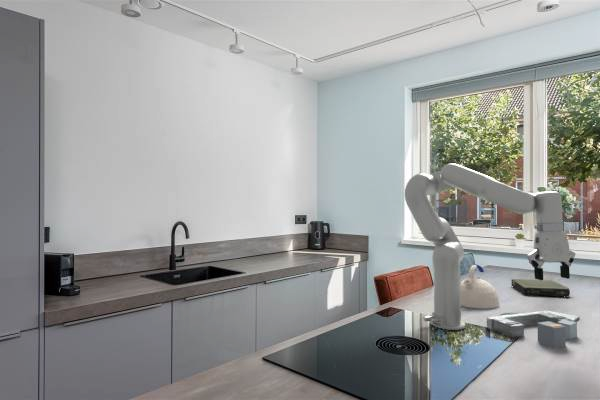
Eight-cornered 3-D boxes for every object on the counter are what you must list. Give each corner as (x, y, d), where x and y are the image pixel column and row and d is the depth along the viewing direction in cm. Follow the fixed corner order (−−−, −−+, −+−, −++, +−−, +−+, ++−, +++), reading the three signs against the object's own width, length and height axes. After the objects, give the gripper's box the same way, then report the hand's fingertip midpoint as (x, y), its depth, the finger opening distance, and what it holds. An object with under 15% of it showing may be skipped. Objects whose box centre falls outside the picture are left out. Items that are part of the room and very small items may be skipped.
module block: (554, 348, 125) (553, 327, 126) (537, 341, 131) (537, 322, 131) (565, 346, 127) (565, 325, 127) (549, 340, 133) (548, 320, 133)
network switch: (550, 288, 214) (550, 279, 214) (576, 298, 191) (576, 288, 191) (506, 287, 216) (506, 278, 217) (526, 297, 193) (526, 287, 193)
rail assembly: (511, 337, 135) (511, 325, 135) (486, 327, 146) (486, 316, 146) (572, 329, 143) (571, 318, 143) (544, 320, 154) (544, 310, 154)
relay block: (570, 339, 133) (570, 324, 133) (557, 336, 137) (557, 321, 137) (577, 336, 136) (576, 322, 136) (564, 333, 139) (564, 319, 139)
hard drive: (579, 316, 157) (544, 309, 166) (574, 320, 152) (538, 313, 161) (579, 320, 157) (544, 313, 166) (574, 324, 152) (538, 317, 161)
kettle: (444, 303, 181) (444, 265, 181) (461, 295, 196) (461, 260, 197) (491, 311, 167) (490, 270, 168) (505, 302, 183) (504, 264, 183)
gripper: (534, 229, 127) (536, 282, 126) (582, 227, 129) (584, 279, 129) (518, 228, 134) (521, 278, 134) (563, 226, 136) (566, 275, 136)
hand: (552, 278), depth 131 cm, fingers open, 9 cm apart
